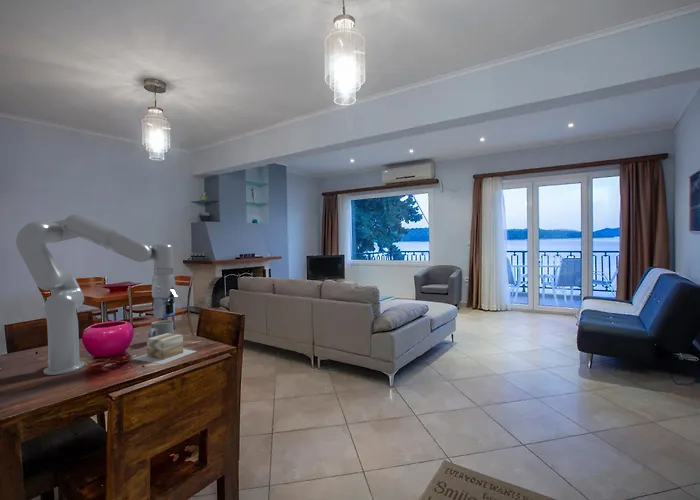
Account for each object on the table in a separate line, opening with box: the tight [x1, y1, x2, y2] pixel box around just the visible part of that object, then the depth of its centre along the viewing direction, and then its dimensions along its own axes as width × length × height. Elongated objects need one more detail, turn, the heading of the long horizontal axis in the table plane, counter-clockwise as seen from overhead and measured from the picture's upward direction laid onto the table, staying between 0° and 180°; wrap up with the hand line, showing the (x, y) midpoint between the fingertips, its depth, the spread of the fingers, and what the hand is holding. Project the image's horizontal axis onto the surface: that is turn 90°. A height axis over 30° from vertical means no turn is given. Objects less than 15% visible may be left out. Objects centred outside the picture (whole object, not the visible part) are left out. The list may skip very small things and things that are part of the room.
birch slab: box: [146, 333, 184, 350], centre depth 153 cm, size 10×10×4 cm
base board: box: [132, 348, 197, 365], centre depth 153 cm, size 18×18×1 cm
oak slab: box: [146, 343, 184, 360], centre depth 153 cm, size 10×10×4 cm
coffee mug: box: [147, 319, 174, 338], centre depth 175 cm, size 13×10×10 cm
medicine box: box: [153, 297, 176, 319], centre depth 152 cm, size 8×4×9 cm, turn 168°
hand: (164, 312), depth 152 cm, fingers closed on medicine box, 5 cm apart
